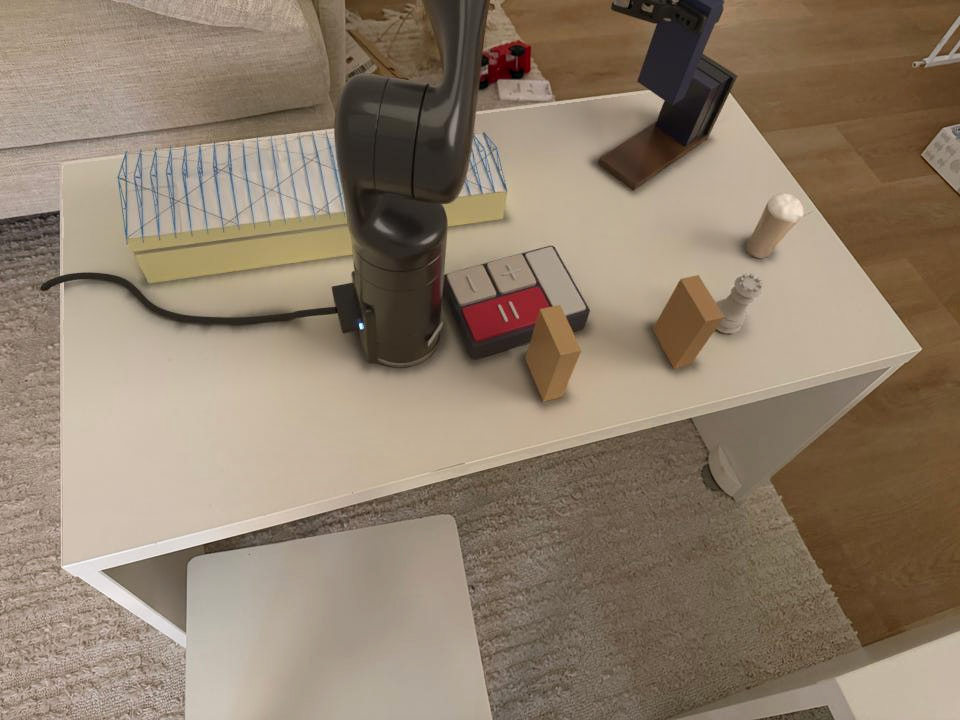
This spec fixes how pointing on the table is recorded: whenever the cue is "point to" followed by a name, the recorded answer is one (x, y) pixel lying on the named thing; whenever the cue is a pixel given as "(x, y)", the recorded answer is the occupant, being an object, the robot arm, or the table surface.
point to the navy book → (676, 53)
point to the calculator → (511, 299)
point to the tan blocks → (676, 329)
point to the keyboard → (261, 204)
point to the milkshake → (774, 224)
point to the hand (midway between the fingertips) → (710, 20)
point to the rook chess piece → (738, 303)
